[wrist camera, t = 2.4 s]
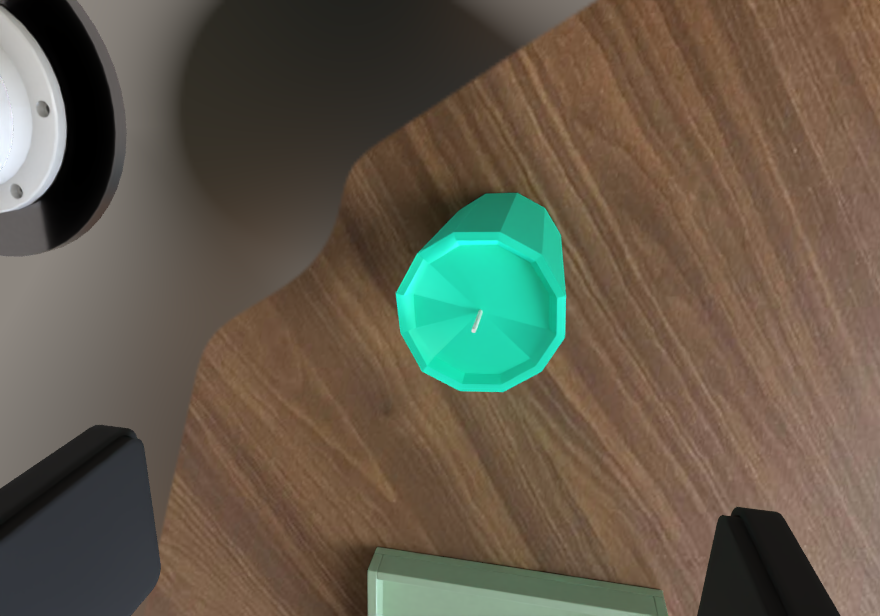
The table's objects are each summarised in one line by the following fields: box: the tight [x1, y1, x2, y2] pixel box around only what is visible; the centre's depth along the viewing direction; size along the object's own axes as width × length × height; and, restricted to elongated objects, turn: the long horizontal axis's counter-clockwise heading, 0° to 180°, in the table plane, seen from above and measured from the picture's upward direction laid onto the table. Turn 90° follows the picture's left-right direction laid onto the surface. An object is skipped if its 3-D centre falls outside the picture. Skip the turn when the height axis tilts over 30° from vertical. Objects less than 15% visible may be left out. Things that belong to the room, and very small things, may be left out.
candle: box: [396, 193, 566, 392], centre depth 25 cm, size 6×6×12 cm
